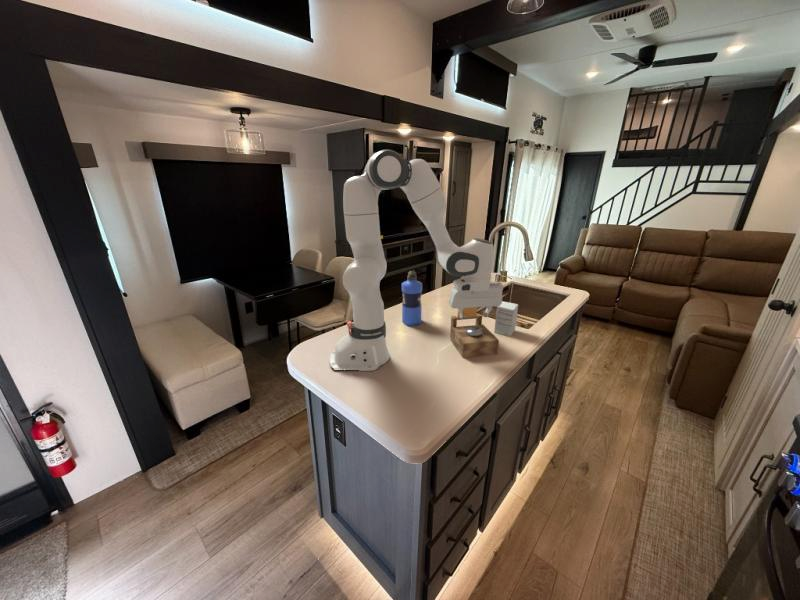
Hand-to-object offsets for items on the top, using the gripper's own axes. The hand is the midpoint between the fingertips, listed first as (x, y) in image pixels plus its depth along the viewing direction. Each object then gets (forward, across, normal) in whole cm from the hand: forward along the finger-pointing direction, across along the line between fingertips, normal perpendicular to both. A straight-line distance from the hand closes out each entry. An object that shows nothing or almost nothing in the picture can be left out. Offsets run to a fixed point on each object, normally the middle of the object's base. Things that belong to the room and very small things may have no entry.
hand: (473, 317), depth 119 cm
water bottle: (+14, +18, -28) cm, 36 cm away
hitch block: (+13, -1, -1) cm, 13 cm away
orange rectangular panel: (-1, -1, -7) cm, 7 cm away
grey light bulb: (+12, -1, 0) cm, 13 cm away
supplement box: (+13, -20, -10) cm, 26 cm away
